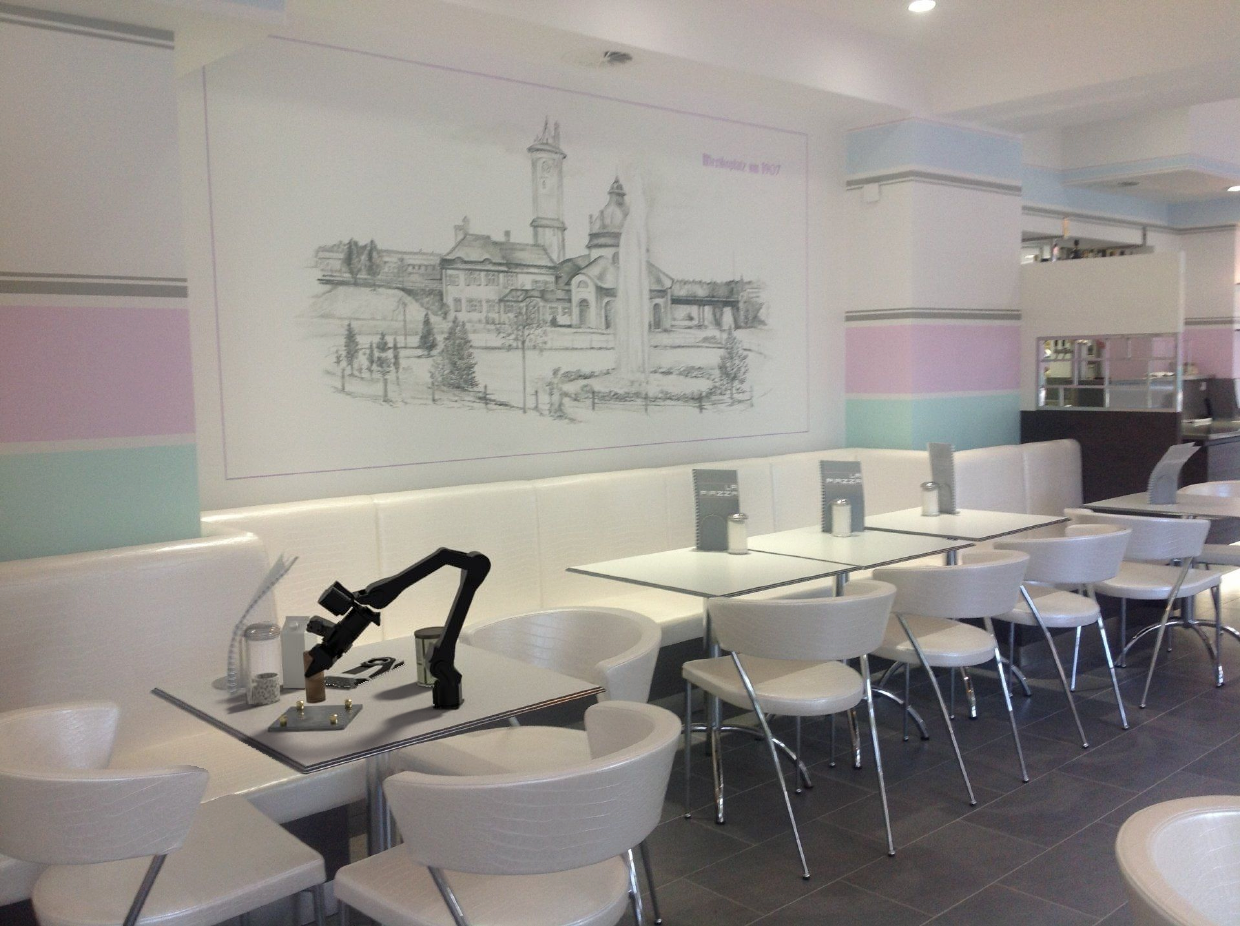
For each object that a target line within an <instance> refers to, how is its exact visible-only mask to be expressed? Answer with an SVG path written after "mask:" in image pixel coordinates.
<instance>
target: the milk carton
mask: <svg viewBox="0 0 1240 926" xmlns="http://www.w3.org/2000/svg"><path fill="white" fill-rule="evenodd" d="M284 618H285V621H284V623H283V625H282V628H281V630H280V632H281V634H280V633H279V639H280V655H281V669H282V686H283V688H284V689H305V676H304V662H303V652H305V651H308V650H311V649H312V648H313V647H314V646H315V645H316V644H318V641H319V639H318V635H316V634H314V633H309V632H307V631H306V628H307V624H308V623H309V621H310V618H311V616H310V615H285V617H284Z"/></svg>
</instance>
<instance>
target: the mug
mask: <svg viewBox="0 0 1240 926" xmlns="http://www.w3.org/2000/svg"><path fill="white" fill-rule="evenodd" d="M246 699H247V703H248V704H249V705H256V706H268V705H273V704H277V703H279V702H280V701H281V689H280V676H279V673H278V672H263V673H258V674H255V675H252V676H251V684H250V685H248V687H246Z"/></svg>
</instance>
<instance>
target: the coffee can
mask: <svg viewBox="0 0 1240 926" xmlns="http://www.w3.org/2000/svg"><path fill="white" fill-rule="evenodd" d="M443 628H444V625H442V626H439V625H438V626H428V627H422V628H418V629H416V630H415V631H414V632H413V636H414V645H415V646H414V647H415V660H416V661H415V662H416V677H417V679H416V681H417V683H418V684H419V685H421V686H420V687H422V686H434V682H435V681H436V680H437V678H435V677H433V676H432V675H431V674H430V672H429V671H428V670H427V668H426V666H425V658H424V655H425V654H426V652H427V650H428V645H429V642H432V643H434V644H435V643H436V641H437V640H438V639H439V637H440V635H441V633H442V630H443ZM453 666H454V667H455V663H454V664H453ZM418 684H417V685H418ZM419 685H418V686H419Z"/></svg>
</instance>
